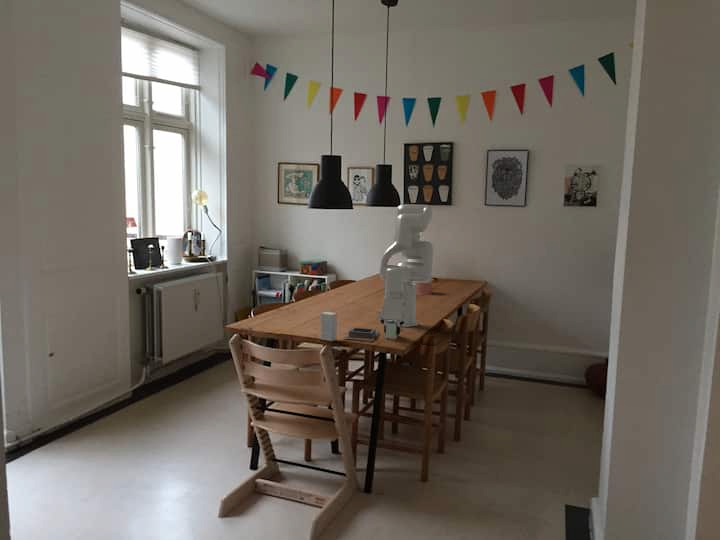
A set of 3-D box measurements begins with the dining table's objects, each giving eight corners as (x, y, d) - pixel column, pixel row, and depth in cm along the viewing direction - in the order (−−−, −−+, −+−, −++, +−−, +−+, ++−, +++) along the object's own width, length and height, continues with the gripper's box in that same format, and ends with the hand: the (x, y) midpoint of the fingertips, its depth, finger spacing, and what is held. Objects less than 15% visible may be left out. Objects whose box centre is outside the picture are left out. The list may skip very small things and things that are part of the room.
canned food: (434, 293, 382) (435, 275, 380) (423, 295, 374) (424, 276, 372) (422, 291, 390) (422, 273, 388) (410, 292, 382) (411, 274, 380)
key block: (388, 334, 266) (388, 319, 265) (397, 335, 265) (398, 320, 264) (385, 338, 259) (386, 322, 258) (395, 339, 258) (395, 323, 257)
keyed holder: (352, 331, 270) (352, 325, 270) (379, 333, 267) (379, 327, 267) (343, 339, 255) (344, 333, 254) (372, 342, 252) (372, 335, 251)
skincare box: (337, 339, 254) (337, 313, 253) (331, 341, 251) (331, 314, 249) (326, 337, 258) (326, 311, 256) (320, 339, 254) (320, 312, 252)
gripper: (413, 295, 261) (411, 334, 263) (376, 292, 265) (375, 331, 267) (410, 297, 254) (409, 337, 256) (373, 295, 257) (372, 334, 260)
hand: (391, 334), depth 262 cm, fingers closed on key block, 4 cm apart
